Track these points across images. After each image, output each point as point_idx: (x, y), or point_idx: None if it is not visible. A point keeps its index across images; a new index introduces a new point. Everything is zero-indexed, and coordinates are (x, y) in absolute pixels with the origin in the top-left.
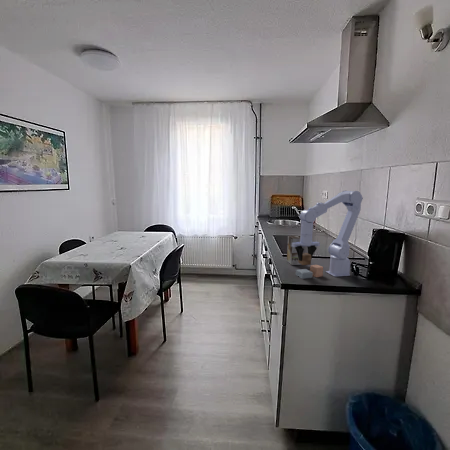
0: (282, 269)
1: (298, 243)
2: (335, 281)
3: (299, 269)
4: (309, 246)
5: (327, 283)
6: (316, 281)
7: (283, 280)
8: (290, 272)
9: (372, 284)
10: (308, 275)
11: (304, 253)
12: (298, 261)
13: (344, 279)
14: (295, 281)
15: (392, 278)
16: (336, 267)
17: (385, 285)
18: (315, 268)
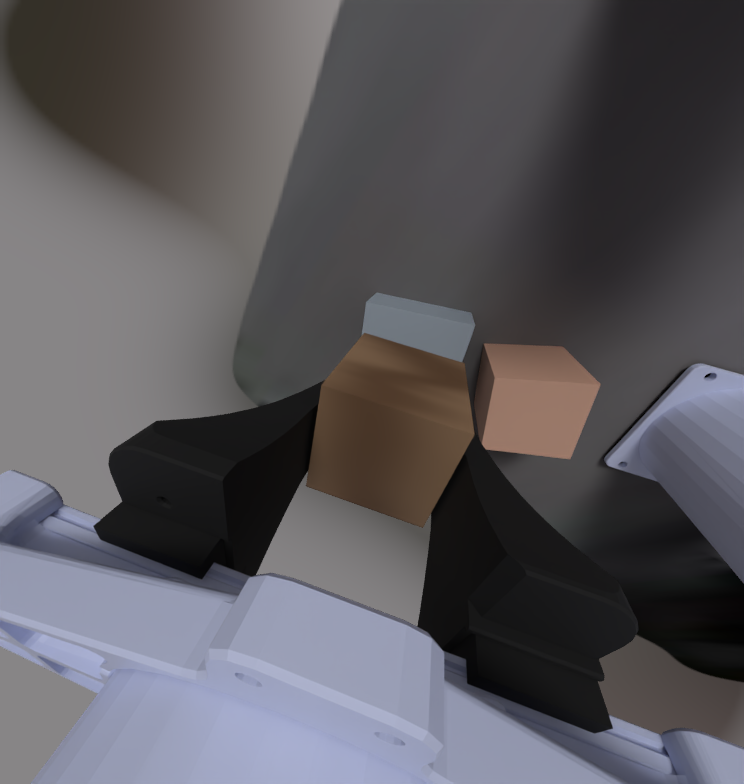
0: (360, 70)
1: (44, 667)
2: None
3: (403, 310)
4: (457, 630)
5: None
6: None
7: (237, 344)
8: (376, 218)
9: (642, 595)
10: None
11: (398, 441)
12: (359, 341)
13: (602, 506)
14: (296, 388)
15: None
16: (684, 509)
17: (682, 625)
18: (482, 430)
